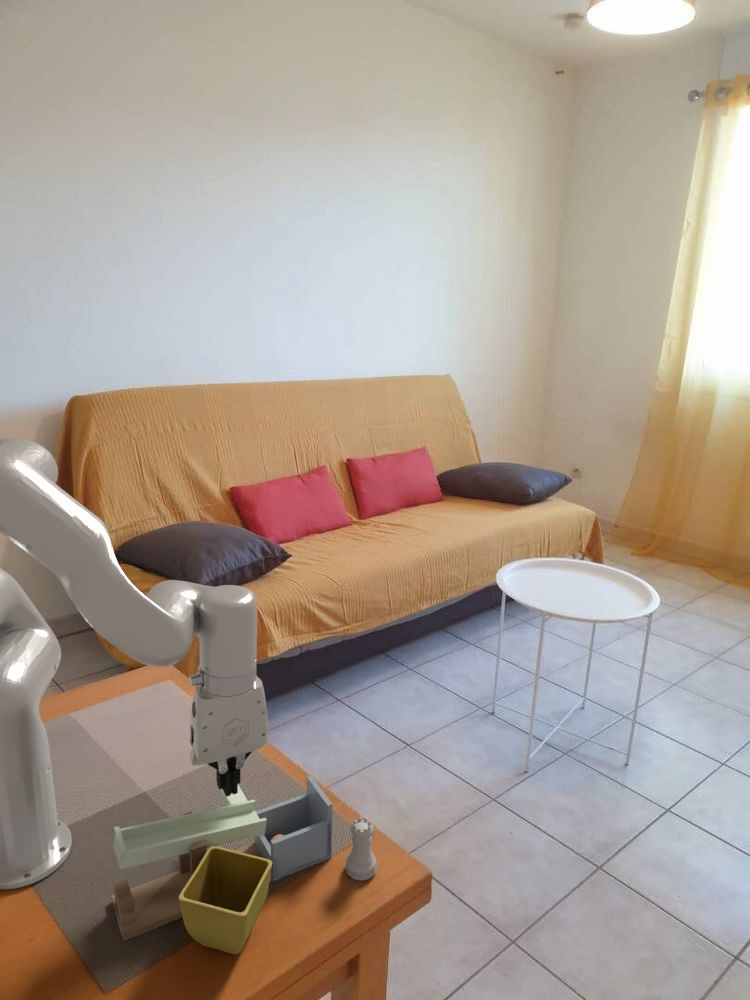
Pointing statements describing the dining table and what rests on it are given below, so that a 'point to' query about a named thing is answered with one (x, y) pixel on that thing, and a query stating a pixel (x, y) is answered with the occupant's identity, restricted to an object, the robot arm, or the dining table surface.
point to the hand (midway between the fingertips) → (228, 789)
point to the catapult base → (159, 894)
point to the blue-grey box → (297, 831)
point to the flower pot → (225, 898)
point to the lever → (188, 832)
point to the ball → (276, 837)
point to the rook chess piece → (361, 851)
